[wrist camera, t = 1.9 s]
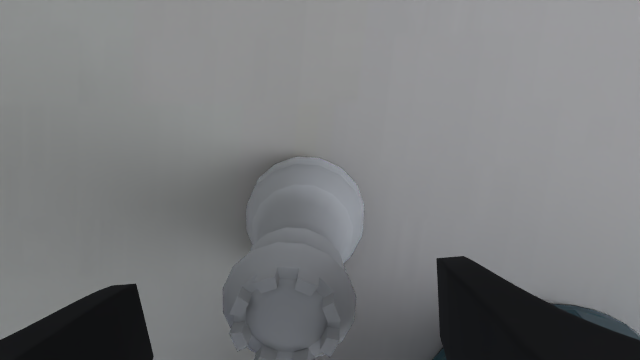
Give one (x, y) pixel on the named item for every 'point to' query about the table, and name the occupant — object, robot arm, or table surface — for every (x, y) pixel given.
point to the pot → (589, 316)
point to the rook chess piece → (296, 262)
